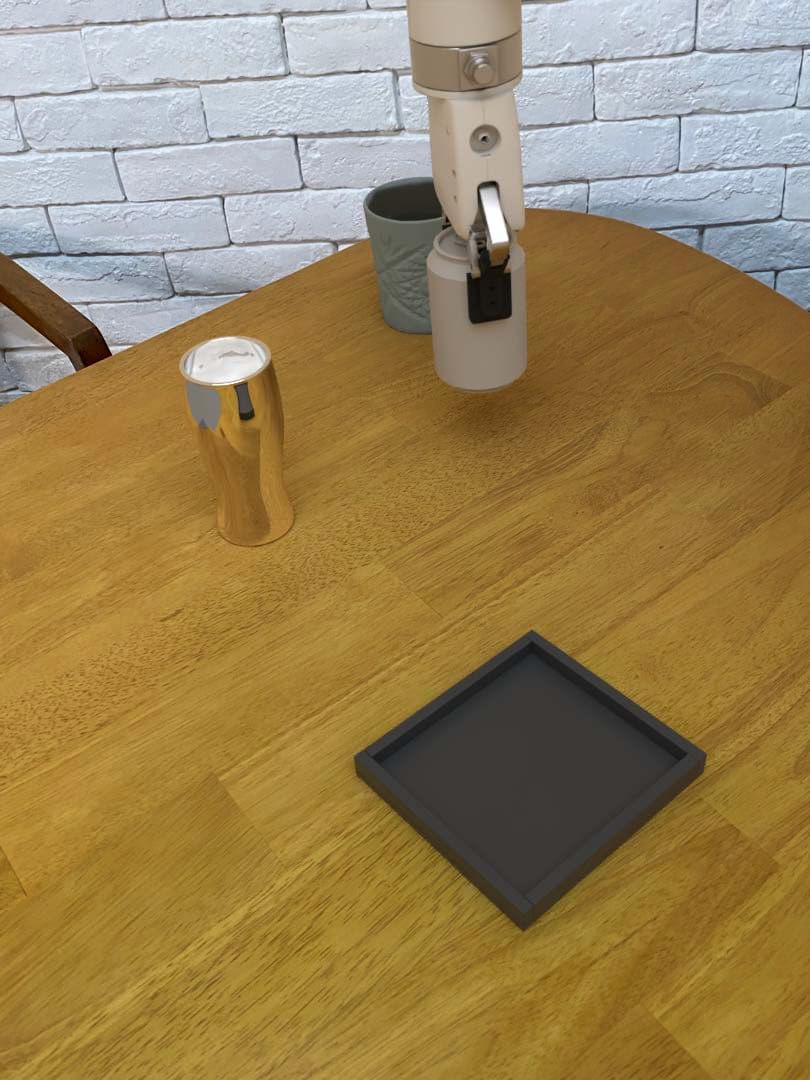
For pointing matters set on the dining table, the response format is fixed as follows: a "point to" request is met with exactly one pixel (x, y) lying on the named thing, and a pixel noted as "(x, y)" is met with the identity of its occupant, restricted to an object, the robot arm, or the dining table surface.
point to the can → (474, 349)
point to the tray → (529, 774)
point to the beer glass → (239, 435)
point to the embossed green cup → (404, 248)
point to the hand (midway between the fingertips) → (477, 292)
